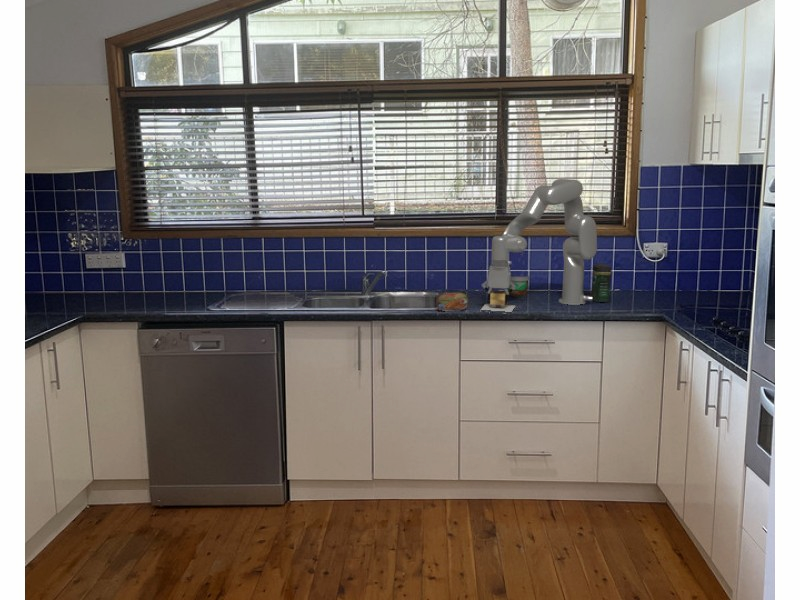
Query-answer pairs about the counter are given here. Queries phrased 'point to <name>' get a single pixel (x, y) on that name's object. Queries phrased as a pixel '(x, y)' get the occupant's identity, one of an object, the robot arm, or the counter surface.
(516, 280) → the food container
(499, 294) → the tan wooden block
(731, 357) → the counter surface
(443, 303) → the tin
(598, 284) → the coffee jar
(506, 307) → the post base
